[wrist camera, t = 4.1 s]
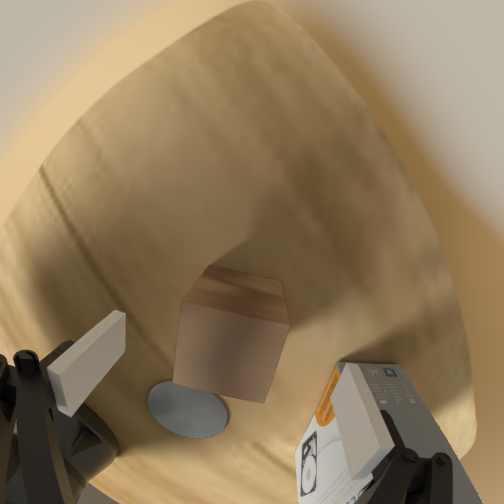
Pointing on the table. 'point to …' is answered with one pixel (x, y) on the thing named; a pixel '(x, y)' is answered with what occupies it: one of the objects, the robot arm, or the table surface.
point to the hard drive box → (332, 452)
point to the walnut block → (231, 334)
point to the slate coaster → (186, 410)
